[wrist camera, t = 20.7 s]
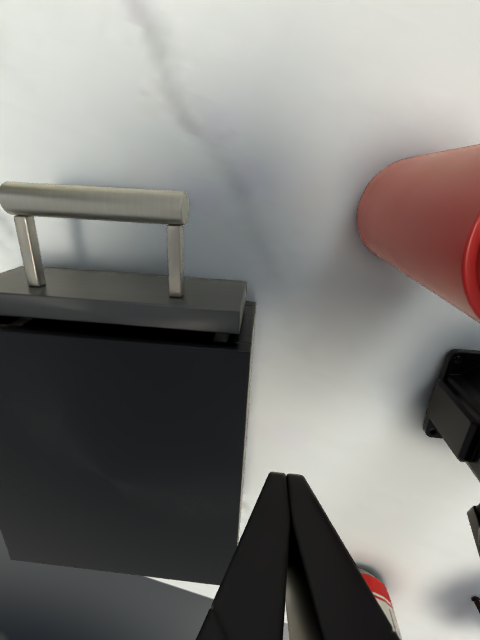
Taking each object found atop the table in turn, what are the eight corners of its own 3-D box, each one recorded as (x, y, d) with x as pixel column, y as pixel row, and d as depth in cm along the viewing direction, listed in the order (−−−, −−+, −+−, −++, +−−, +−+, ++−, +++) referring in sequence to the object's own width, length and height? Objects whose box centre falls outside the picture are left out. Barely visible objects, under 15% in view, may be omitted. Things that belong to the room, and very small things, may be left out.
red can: (474, 159, 16) (807, 119, 6) (444, 264, 18) (657, 361, 8) (367, 154, 17) (518, 107, 7) (348, 258, 19) (442, 344, 9)
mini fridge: (28, 284, 21) (-70, 325, 15) (256, 301, 20) (250, 351, 14) (67, 476, 27) (10, 560, 21) (242, 495, 27) (234, 587, 20)
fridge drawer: (4, 179, 18) (-83, 177, 13) (252, 193, 17) (246, 196, 13) (63, 462, 26) (20, 520, 21) (235, 480, 25) (228, 544, 20)
